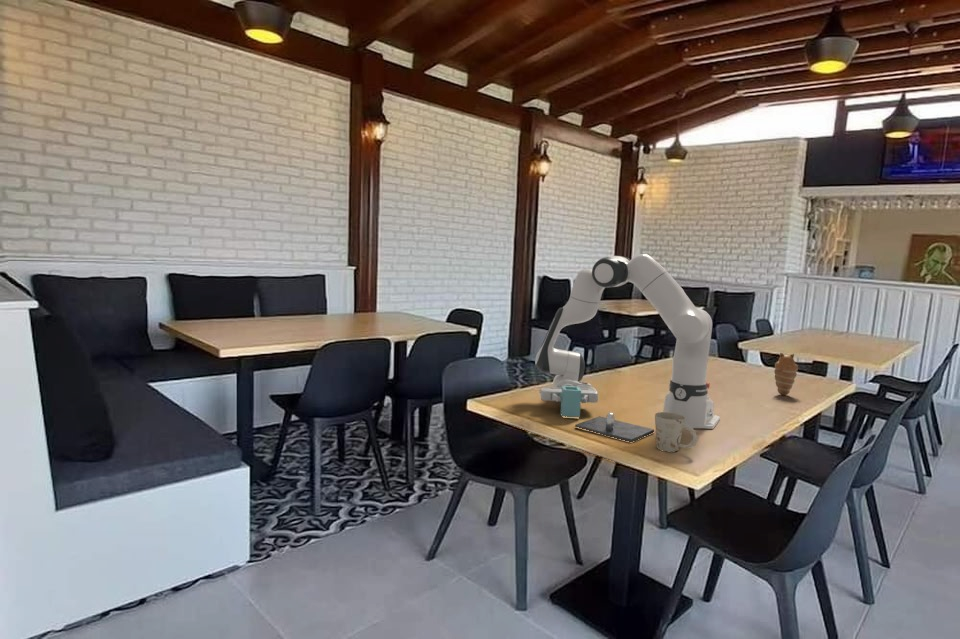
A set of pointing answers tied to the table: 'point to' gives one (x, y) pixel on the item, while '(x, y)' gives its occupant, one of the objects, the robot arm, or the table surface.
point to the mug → (671, 431)
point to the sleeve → (570, 401)
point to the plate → (615, 428)
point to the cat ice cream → (785, 373)
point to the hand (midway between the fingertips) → (571, 400)
